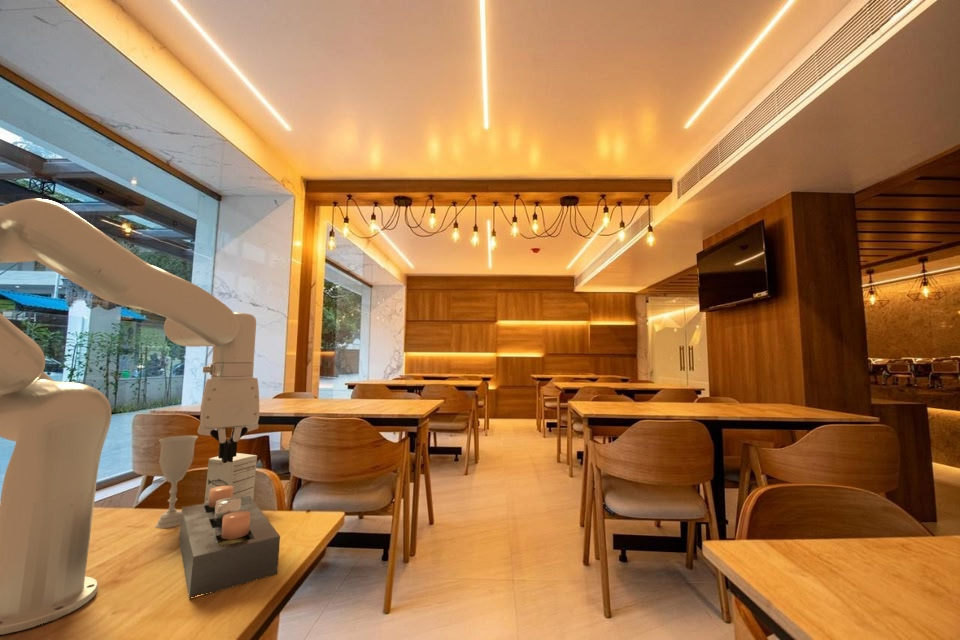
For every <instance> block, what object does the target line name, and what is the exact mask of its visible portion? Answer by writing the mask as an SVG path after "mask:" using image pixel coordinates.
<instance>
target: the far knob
mask: <svg viewBox="0 0 960 640" xmlns="http://www.w3.org/2000/svg"><path fill="white" fill-rule="evenodd" d="M230 497H233V486H219V487H215V488H212V489H210V495H209V505H208V506H209V507H212V508H215V505H216V501H218V500H220V499H224V498H230Z"/></svg>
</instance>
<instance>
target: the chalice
mask: <svg viewBox="0 0 960 640" xmlns="http://www.w3.org/2000/svg"><path fill="white" fill-rule="evenodd" d="M198 438H199V436H198V435H187V434H186V435H176V436H175V435H174V436H168V437H163V438H160V439H158V441H159V443H160V453H159V461H158V462H159V467H160V469H161V473H162V474H163V477H164V478H165V480H166V482H168V483H170V484H171V486H170V489H169V491H168V493H169V494H170V497H169V499H167V502H168V504H169V506H168V509H167V510H166V511H164V512H163V513H162V514H161V515H160V516H159V517H160V518H159V519H158V520H157V523H156V524H155V528H156V529H166V528H167V529H168V528H174V527H176V526H177V527H178V526H180V522H181V512H182V511H181V510H178V509H176V506H175V504H176V502H177V501H178V498H177V492H178V491H179V490H178V486H177V485H178V482H179V481H181V480H183V479H184V477H185V476H186V474H187V473H188V471H189V468H190V467H191V465H192V463H193V460H194V453H195V445H196V441H197V439H198Z"/></svg>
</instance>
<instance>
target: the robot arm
mask: <svg viewBox="0 0 960 640" xmlns="http://www.w3.org/2000/svg"><path fill="white" fill-rule="evenodd" d="M34 261H36V262H38V263H39V264H41V265H43V266H45V267H46V268H47V269H49V270H50V271H53V272H55V273H57V274H59V275H60V276H62V277H64V278H66V279H67V280H68V281H70V282H72V283H73V284H76V285H77V286H79V287H81V288H83V289H84V290H86V291H88V292H89V293H91V294H93V295H94V296H97V297H98V298H99V299H101V300H104V301H106V302H108V303H109V302H110V303H113V304H116V305H119V306H121V307H127V308H133V309H137V310H141V311H146V312H149V313H152V314H155V315H158V316H161V317H164V318H166V319H165V321H164V324H163V331H164V332H163V333H164V335H165V336H166V337H167V339H168V340H170V341H171V342H172V343H173V344H176V345H179V346H182V347H191V348H193V347H196V348H197V347H212V357H211V358H212V359H211V361H212V362H211V363H210V364H209V365H206V366H205V365H204V366H203V367H202V373H203V374H209V375H210V378H206V382H205V383H204V384H205V385H204V389H203V394H202V399H201V406H200V412H199V413H200V414H199V423H200V424H199V425H198V428H197V433H198V435H201V436H202V435H203V436H210V437H212V438H214V439H215V440H216V441H217V442H218V455H217V456H218V458H219V459H220V458H222V462H223V463H227V462H233V457H235V456H236V453H238V451H237V450H238V442H239V441H240V439H241V438H242V437H243V436H244V435H245V434H247V433H248V432H252V431H255V430H258V429H259V427H260V426H259V420H260V387H259V380H258V377H254V366H255V363H254V362H255V352H256V351H255V347H256V332H257V319H256V316H254V315H252V314H250V313H245V312H235V311H234V312H233V310H232V309H231V308H229V307H228V306H227V304H225V303H223V302H222V301H221V300H220V299H218V298H217V297H215V296H214V295H213V294H211V293H210V292H208V291H207V290H205V289H203V288H202V287H200V286H198V285H196V284H195V283H192V282H191V281H189V280H187V279H184V278H182V277H179V276H177V275H175V274H172V273H171V272H169V271H166V270H165V269H162V268H160V267H157V266H155V265H153V264H150V263H149V262H147V261H145V260H143V259H141V258H140V257H139V256H137V255H135V254H134V253H133V252H131V251H130V250H128V249H127V248H125V247H124V246H122V245H121V244H120V243H118V242H117V241H115V240H114V239H112V238H111V237H110V236H108V235H107V234H105V232H103V231H102V230H100V229H98V228H97V227H95V225H93V224H91V223H89V222H88V221H87V220H85V219H84V218H82V217H81V216H80V215H79V214H77V213H75V212H74V211H73V210H70V209H69V208H68V207H66V206H64V205H62V204H60V203H59V202H56V201H53V200H49V199H44V198H43V199H42V198H28V199H21V200H17V201H13V202H10V203H7V204H5V205H0V264H8V263H29V262H30V263H31V262H34ZM45 366H46V356H45V354H44V352H43V350H42V348H41V347H40V346H39V344H38V343H37V342H36V341H35V340H33V339H32V338H31V337H30V336H29V335H27V334H26V333H24V331H22V330H21V329H20V328H19V327H18V326H16V325H15V324H13V323H12V322H11V321H10V320H9V319H8V318H7V317H5V315H3V314H2V313H1V312H0V437H1V438H3V439H5V440H8V441H12V442H15V444H14V448H13V451H12V453H11V456H10V458H9V462H8V464H7V467H6V470H5V474H4V477H3V483H2V488H1V492H0V493H1V494H0V635H7V634H12V633H16V632H20V631H21V632H22V631H25V630H27V629H31V628H32V629H33V628H35V627H38V626H41V625H44V624H47V623H50V622H53V621H55V620H57V619H60V618H62V617H64V616H66V615H69V614H70V613H72V612H74V611H76V610H78V609H80V608H81V607H82V606H84V605H86V604H87V603H89V602H90V600H92V599H93V598H94V597H95V596H96V594H97V592H98V586H99V583H98V581H97V579H95V578H93V577H90V576H86V573H87V571H86V570H87V563H88V555H89V547H90V541H91V533H92V532H91V531H92V524H93V523H92V522H93V515H94V507H95V498H96V491H97V481H98V480H97V479H98V474H99V473H98V471H99V466H100V460H101V454H102V450H103V447H104V445H105V442H106V438H107V435H108V432H109V429H110V426H111V420H112V408H111V404H110V401H109V400H108V398H107V397H106V396H105V394H104V393H102V392H101V390H98V389H97V388H95V387H92V386H90V385H88V384H85V383H79V382H73V381H57V380H56V381H55V380H54V379H53V378H52V377H50V376H49V375H48V374H47V373H45V372H44V370H45ZM231 428H232V430H231V435H230V436H229V438H227V434H226V429H231ZM49 621H50V622H49ZM43 623H44V624H43ZM40 624H41V625H40ZM37 625H38V626H37Z"/></svg>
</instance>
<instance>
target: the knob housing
mask: <svg viewBox="0 0 960 640" xmlns="http://www.w3.org/2000/svg"><path fill="white" fill-rule="evenodd" d="M240 498H241V507H240V511H248V512H250V513H251V514H250V527H249V533H248V534H247V535H246V536H247V537H248V538H249V539H246V540H243V541H238V542H233V543H230V544H225V545H220V544H219V542H221V541H227V540H228V539H223V538H221V533H222V522H216V521H214V517H215V508H212V507H209V506H208V505H209V503H199V504H193V505H187V506H182V507H181V511H180V512H181V522H180V525H179V532H178V533H179V534H178V542H179V546H180V555H181V559H182V564H183V570H184V577H185V582H186V587H187V594H189V595H188V599H189V598H191V597H195V596H197V595H201V594H206V593H210V592H213V593H216V591H217V592H220V591H224V590H227V589H230V588H229V587H231V588H233V587H232V586H234V587H236V585H237V586H240V584H241V585H244V584H247V582H248V583H250V582H249V581H251V582H254V581H253V580H255V581H257V580H256V579H258V580H261V579H260V578H262V579H264V578H263V577H265V578H268V577H272V576H275V575H278V569H279V558H280V556H279V555H280V542H281V535H280V534H279V533H278V531H277V530H276V528H275V527H274V526H273V524H271V522H270V521H269V519H268V517H266V515H265V514H264V513H263V512H262V509H261V508H260V507H259V506H258V504H257V503H256V502H255V501H254V498H253V499H252V498H251V496H246V497H240ZM271 575H272V576H271ZM267 576H268V577H267ZM226 588H227V589H226ZM223 589H224V590H223ZM210 594H211V593H210Z"/></svg>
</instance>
